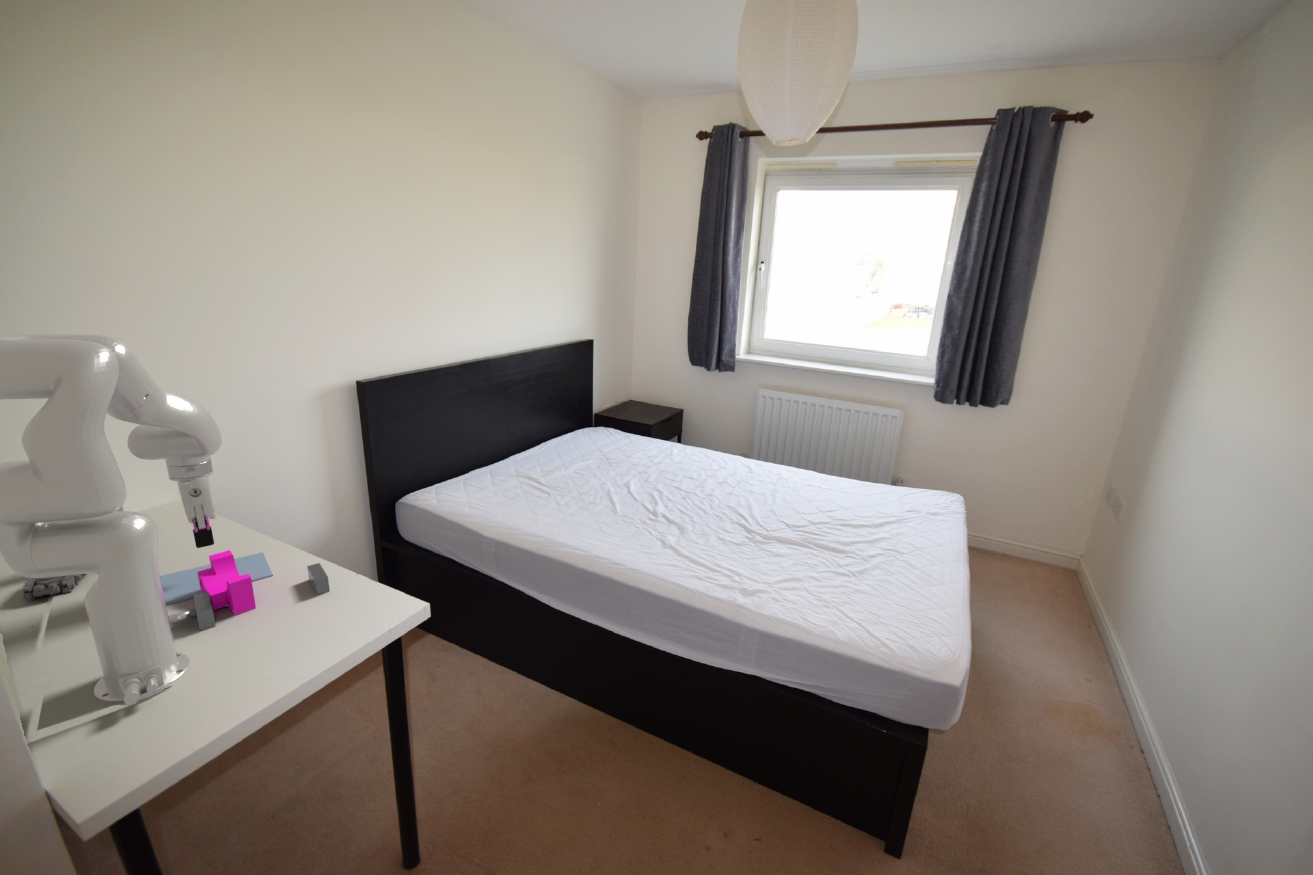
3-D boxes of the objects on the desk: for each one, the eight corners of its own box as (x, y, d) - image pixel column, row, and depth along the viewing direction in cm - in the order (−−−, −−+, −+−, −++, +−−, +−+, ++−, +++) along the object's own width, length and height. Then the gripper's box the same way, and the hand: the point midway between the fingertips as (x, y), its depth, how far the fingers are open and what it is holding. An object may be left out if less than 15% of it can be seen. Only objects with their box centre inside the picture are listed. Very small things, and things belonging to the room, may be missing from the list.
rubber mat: (273, 577, 132) (272, 574, 132) (148, 609, 118) (147, 606, 118) (263, 554, 142) (262, 552, 142) (146, 581, 128) (146, 579, 128)
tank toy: (42, 577, 129) (36, 556, 127) (97, 569, 133) (92, 549, 131) (15, 604, 118) (9, 582, 117) (77, 595, 123) (71, 573, 121)
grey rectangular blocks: (330, 592, 127) (328, 577, 126) (163, 641, 109) (159, 622, 108) (321, 578, 133) (319, 562, 132) (162, 621, 114) (158, 604, 113)
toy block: (200, 589, 125) (194, 559, 123) (234, 579, 129) (229, 550, 127) (220, 620, 116) (214, 588, 114) (256, 607, 120) (251, 577, 118)
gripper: (215, 475, 120) (229, 553, 125) (208, 456, 131) (222, 528, 136) (169, 482, 115) (186, 563, 120) (166, 462, 126) (181, 537, 131)
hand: (205, 544), depth 128 cm, fingers closed
